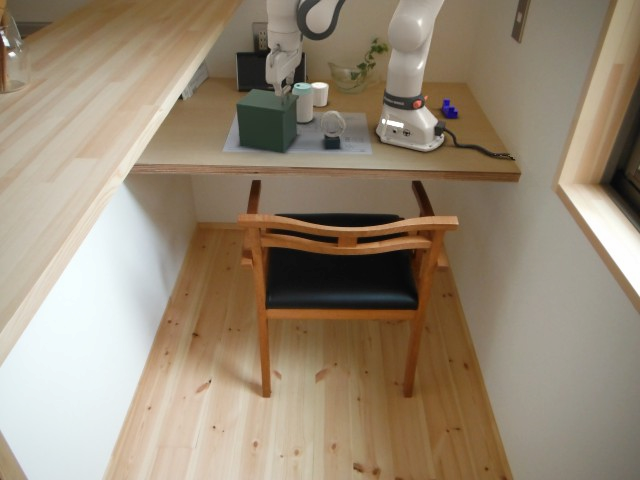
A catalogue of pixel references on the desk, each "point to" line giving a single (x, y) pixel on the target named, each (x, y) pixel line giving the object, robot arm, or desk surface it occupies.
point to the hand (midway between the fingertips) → (284, 89)
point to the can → (304, 102)
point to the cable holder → (449, 109)
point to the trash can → (267, 128)
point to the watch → (332, 137)
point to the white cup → (319, 93)
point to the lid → (268, 100)
